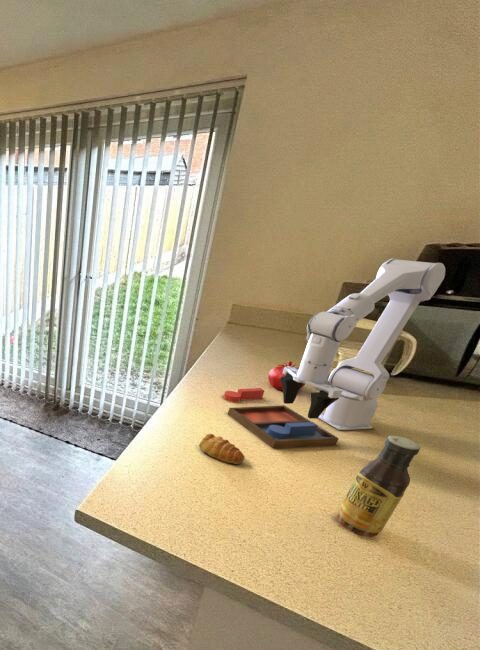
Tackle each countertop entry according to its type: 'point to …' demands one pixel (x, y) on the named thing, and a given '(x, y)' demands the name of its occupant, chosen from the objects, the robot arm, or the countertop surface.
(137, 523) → the countertop surface
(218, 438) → the pastry
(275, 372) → the pomegranate
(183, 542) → the countertop surface
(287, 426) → the blue spoon
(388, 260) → the robot arm
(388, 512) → the sauce bottle
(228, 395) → the red spoon
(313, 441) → the sorting tray
